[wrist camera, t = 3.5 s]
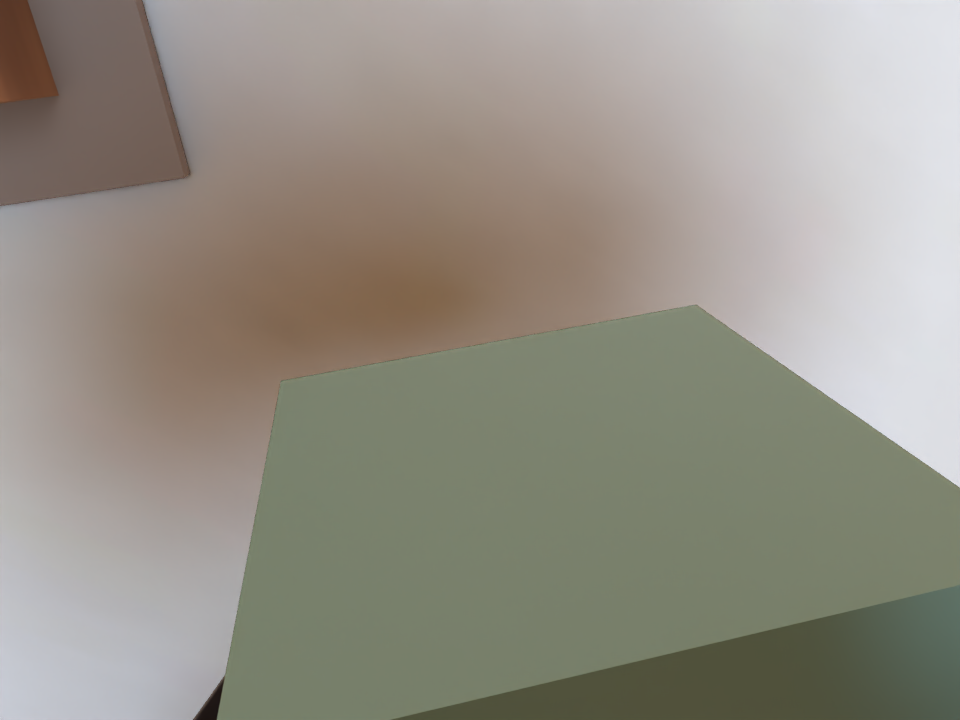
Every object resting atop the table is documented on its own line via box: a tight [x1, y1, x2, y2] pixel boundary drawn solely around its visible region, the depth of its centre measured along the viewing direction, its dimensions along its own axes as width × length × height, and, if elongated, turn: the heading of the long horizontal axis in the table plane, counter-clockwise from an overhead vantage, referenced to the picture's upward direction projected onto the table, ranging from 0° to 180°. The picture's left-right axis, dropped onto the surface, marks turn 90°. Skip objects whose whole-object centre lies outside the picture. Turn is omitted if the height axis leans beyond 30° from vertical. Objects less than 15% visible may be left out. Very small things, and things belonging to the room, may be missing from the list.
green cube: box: [217, 305, 960, 720], centre depth 7 cm, size 5×5×5 cm
